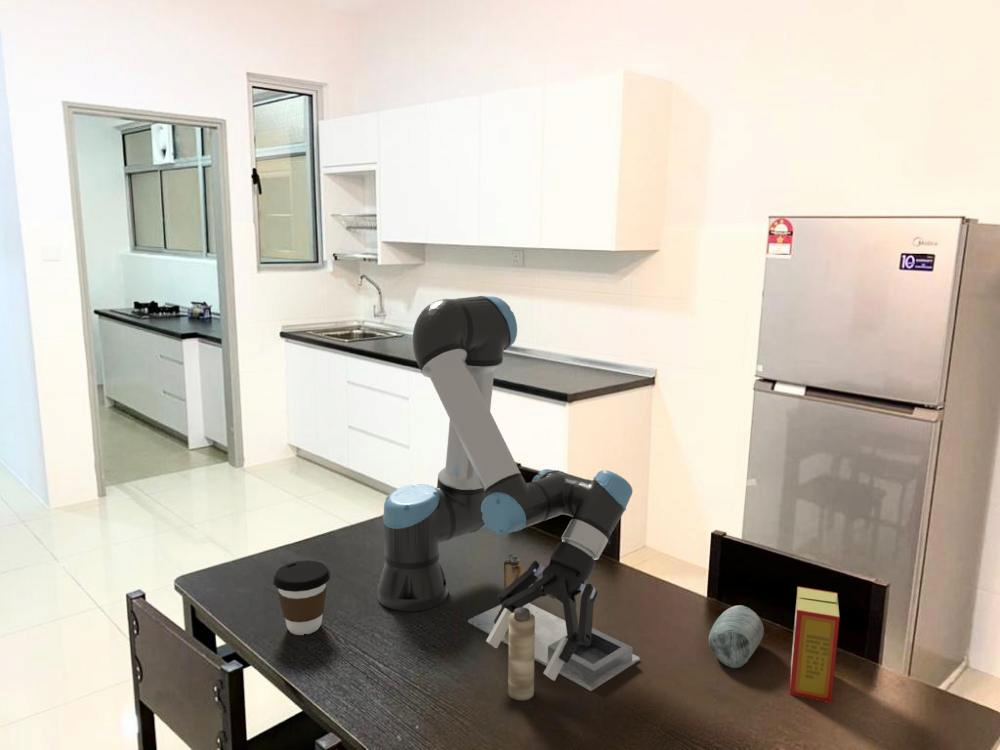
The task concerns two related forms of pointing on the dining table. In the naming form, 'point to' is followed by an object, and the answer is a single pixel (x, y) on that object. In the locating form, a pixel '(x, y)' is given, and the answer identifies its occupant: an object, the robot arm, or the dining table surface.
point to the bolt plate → (587, 661)
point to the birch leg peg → (521, 654)
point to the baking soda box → (814, 644)
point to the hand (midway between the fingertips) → (518, 660)
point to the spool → (736, 635)
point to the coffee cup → (302, 594)
